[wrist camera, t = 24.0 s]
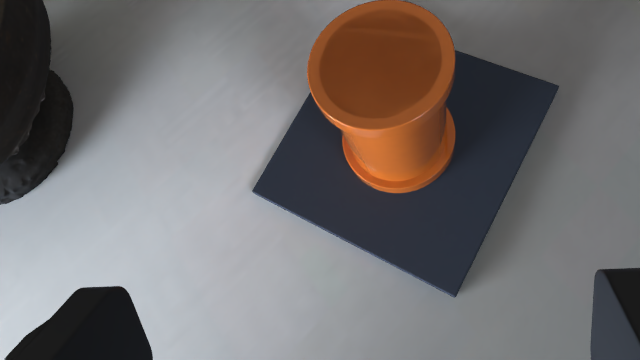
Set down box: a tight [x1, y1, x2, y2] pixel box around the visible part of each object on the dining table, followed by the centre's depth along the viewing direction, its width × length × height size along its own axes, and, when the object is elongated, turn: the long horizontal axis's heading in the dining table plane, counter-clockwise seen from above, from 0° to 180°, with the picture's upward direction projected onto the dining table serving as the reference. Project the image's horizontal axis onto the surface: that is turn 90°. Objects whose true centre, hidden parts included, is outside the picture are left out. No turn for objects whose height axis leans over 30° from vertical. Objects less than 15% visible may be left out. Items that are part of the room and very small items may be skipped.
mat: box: [252, 51, 559, 297], centre depth 28 cm, size 12×12×1 cm
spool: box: [307, 0, 455, 193], centre depth 24 cm, size 6×6×8 cm
